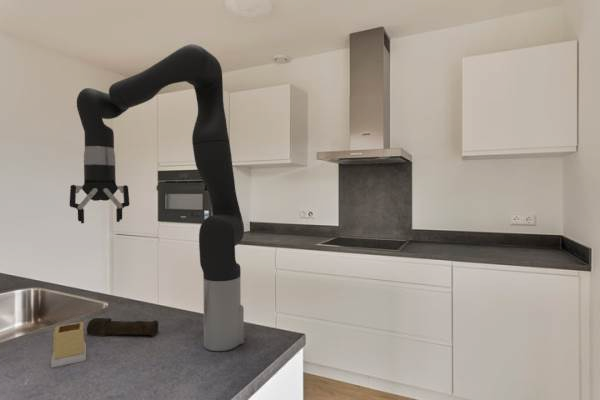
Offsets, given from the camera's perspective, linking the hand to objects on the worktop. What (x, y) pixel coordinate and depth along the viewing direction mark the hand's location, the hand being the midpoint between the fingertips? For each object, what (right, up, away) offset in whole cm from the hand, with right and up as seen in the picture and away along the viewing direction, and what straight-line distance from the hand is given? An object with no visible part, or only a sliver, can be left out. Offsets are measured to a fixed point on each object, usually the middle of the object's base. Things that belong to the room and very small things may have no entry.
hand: (100, 222), depth 95 cm
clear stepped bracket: (-1, -30, -11) cm, 32 cm away
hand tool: (+7, -31, -3) cm, 32 cm away
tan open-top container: (+2, -29, -15) cm, 33 cm away
